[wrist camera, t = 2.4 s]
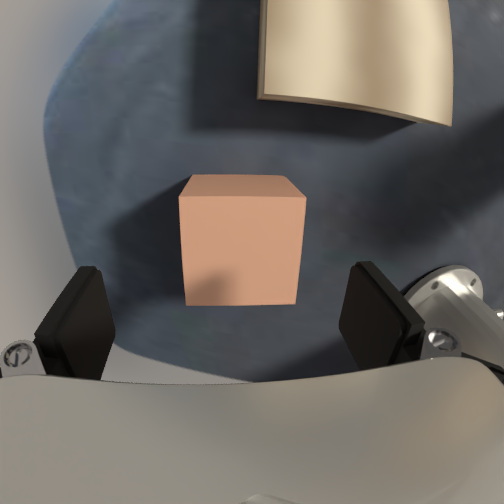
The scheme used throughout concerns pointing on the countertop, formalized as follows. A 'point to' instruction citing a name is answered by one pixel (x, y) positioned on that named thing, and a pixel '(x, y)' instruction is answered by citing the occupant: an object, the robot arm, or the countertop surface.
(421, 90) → the base
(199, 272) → the cube
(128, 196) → the countertop surface
